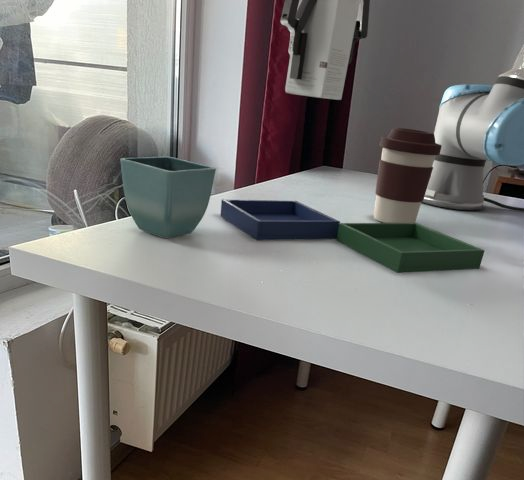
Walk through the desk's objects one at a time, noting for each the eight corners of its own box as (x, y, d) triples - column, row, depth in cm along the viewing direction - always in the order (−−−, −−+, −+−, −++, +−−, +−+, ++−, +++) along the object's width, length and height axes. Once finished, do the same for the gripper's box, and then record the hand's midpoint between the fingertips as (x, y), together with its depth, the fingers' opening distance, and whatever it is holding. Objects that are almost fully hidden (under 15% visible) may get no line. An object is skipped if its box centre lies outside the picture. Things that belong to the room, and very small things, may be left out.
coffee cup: (417, 219, 101) (438, 132, 95) (426, 231, 93) (450, 136, 86) (363, 211, 102) (380, 124, 95) (367, 223, 93) (386, 128, 86)
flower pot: (212, 235, 75) (218, 167, 71) (168, 246, 68) (171, 171, 64) (165, 221, 79) (167, 155, 75) (118, 229, 72) (118, 158, 68)
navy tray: (294, 216, 92) (296, 200, 90) (337, 239, 81) (340, 221, 80) (220, 216, 86) (221, 199, 85) (256, 240, 75) (258, 221, 74)
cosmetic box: (284, 93, 93) (295, -12, 86) (306, 94, 97) (318, -5, 90) (323, 98, 88) (339, -12, 81) (345, 100, 92) (361, -5, 86)
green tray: (412, 239, 86) (416, 222, 85) (479, 268, 75) (485, 250, 74) (336, 240, 80) (339, 222, 79) (397, 272, 69) (402, 252, 68)
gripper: (383, -70, 89) (355, 87, 99) (269, -103, 80) (252, 73, 90) (412, -78, 83) (380, 90, 93) (293, -114, 74) (271, 75, 84)
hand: (317, 81), depth 91 cm, fingers closed on cosmetic box, 7 cm apart
